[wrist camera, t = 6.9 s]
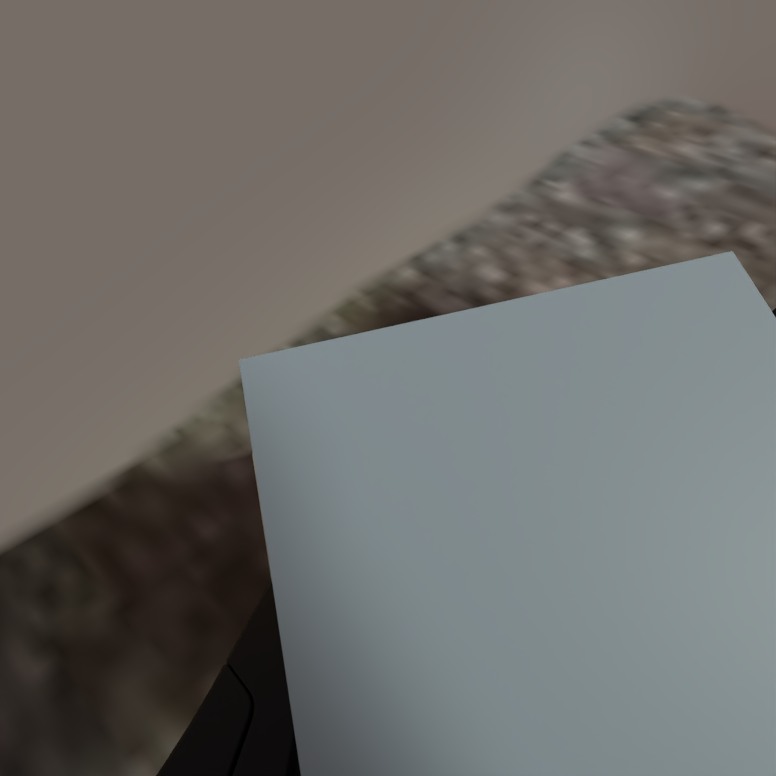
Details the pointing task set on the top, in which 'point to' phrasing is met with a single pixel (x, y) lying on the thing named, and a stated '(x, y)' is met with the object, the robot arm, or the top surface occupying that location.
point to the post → (530, 533)
